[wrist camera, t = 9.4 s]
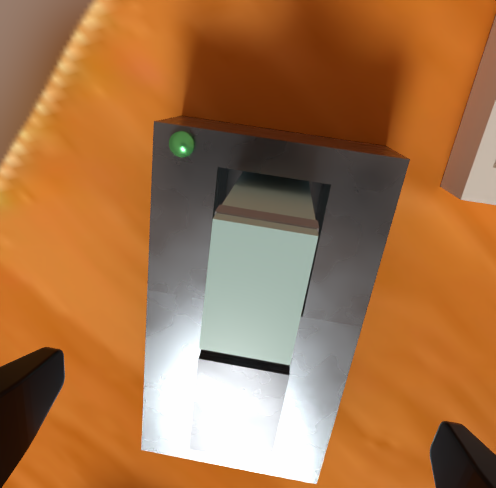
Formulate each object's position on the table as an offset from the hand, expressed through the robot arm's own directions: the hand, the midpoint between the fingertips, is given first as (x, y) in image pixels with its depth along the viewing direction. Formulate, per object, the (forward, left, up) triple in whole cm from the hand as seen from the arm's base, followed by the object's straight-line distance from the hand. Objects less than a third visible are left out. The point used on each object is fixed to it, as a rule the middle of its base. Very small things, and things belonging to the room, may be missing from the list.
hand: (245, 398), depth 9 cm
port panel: (0, +4, -12) cm, 13 cm away
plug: (0, -1, -12) cm, 12 cm away
